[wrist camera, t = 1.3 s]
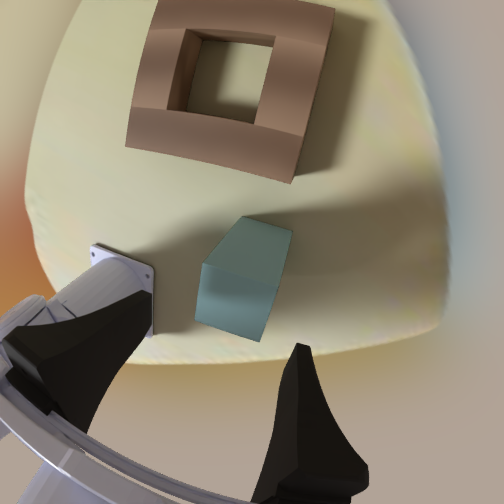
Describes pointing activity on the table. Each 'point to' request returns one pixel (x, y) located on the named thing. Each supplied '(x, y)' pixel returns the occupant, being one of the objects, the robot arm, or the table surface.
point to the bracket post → (242, 278)
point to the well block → (273, 93)
